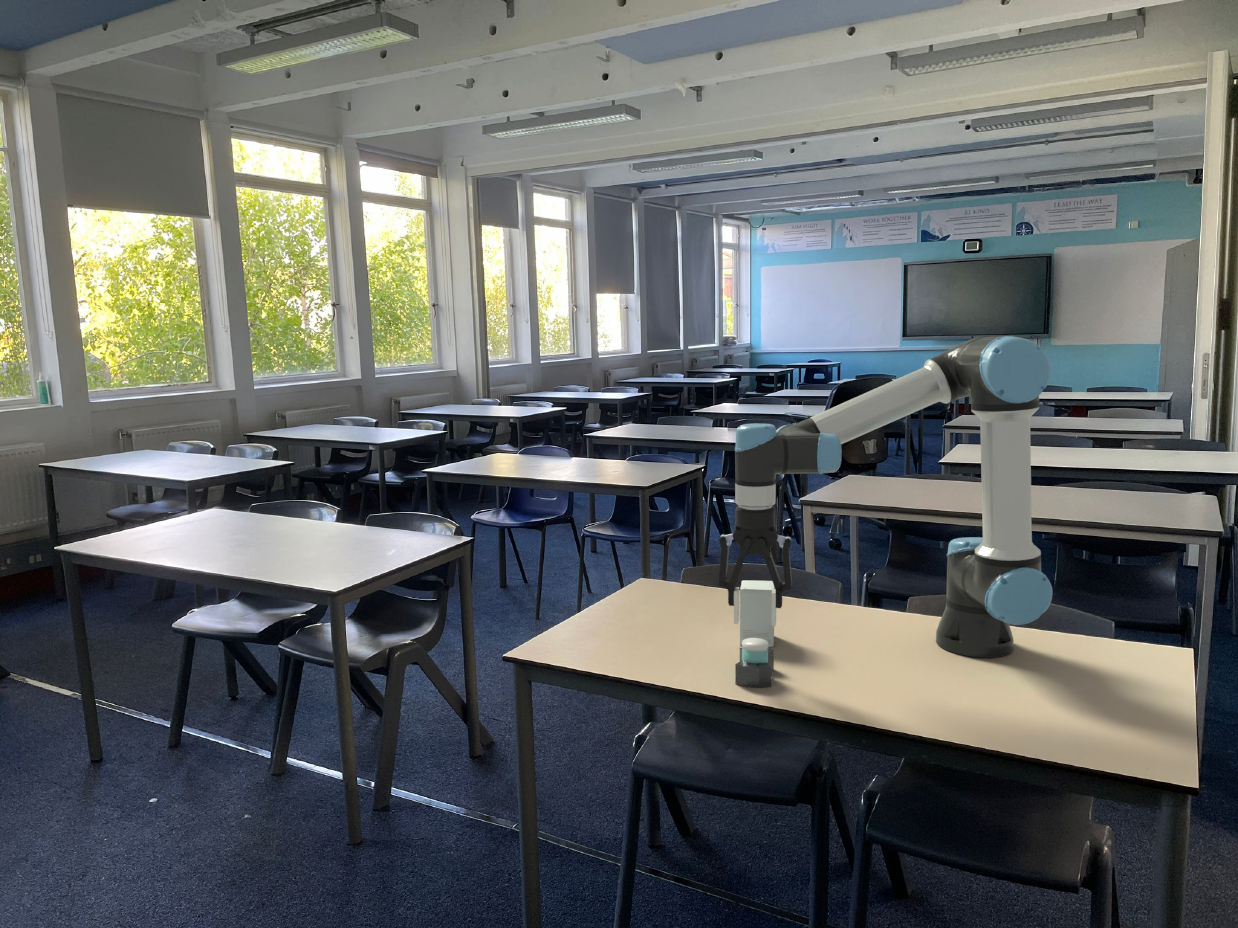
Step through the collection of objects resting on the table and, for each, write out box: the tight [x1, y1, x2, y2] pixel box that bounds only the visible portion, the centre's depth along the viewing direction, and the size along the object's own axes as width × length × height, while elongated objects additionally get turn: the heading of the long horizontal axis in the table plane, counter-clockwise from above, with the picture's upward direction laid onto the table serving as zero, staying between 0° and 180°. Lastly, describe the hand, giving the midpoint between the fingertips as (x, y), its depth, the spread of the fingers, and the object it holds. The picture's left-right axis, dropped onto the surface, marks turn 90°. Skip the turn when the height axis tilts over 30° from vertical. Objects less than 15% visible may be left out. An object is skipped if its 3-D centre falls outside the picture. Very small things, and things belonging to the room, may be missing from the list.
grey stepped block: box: [734, 647, 775, 689], centre depth 168 cm, size 7×11×4 cm, turn 167°
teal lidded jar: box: [741, 638, 769, 663], centre depth 167 cm, size 5×5×7 cm
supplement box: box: [739, 579, 775, 648], centre depth 187 cm, size 7×7×13 cm
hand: (755, 622), depth 166 cm, fingers open, 6 cm apart
